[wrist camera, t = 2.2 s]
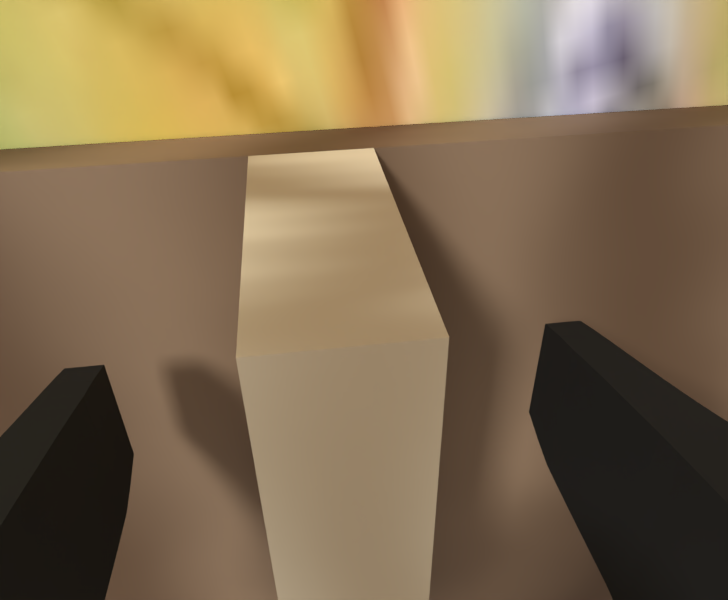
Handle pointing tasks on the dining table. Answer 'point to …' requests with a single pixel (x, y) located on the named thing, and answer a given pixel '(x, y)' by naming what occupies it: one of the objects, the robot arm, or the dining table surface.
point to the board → (447, 284)
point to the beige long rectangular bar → (339, 378)
